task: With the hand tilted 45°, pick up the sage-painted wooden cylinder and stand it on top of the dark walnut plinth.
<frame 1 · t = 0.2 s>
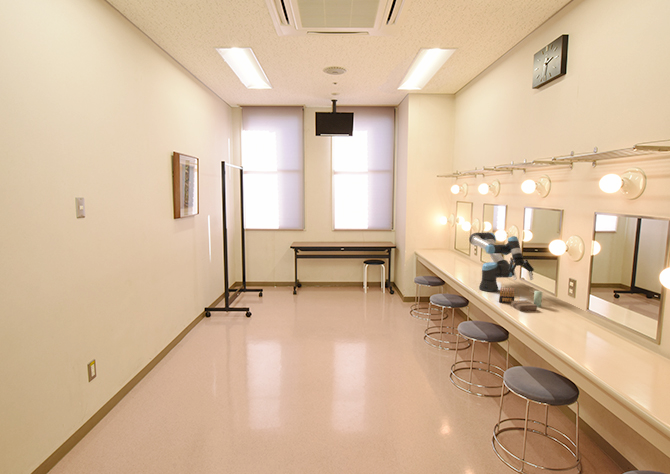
hand: (523, 279, 279), 16 cm above the table, tool tilted 35°, fingers open, 13 cm apart
ammunition clip: (506, 302, 273), on the table
walnut plinth: (523, 308, 259), on the table
sage cylinder: (537, 306, 264), on the table
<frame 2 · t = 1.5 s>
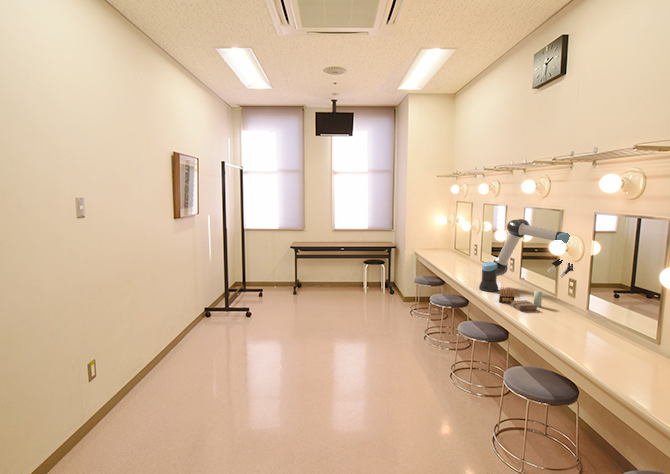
hand: (554, 274, 262), 24 cm above the table, tool tilted 45°, fingers open, 13 cm apart
nothing on the table moved.
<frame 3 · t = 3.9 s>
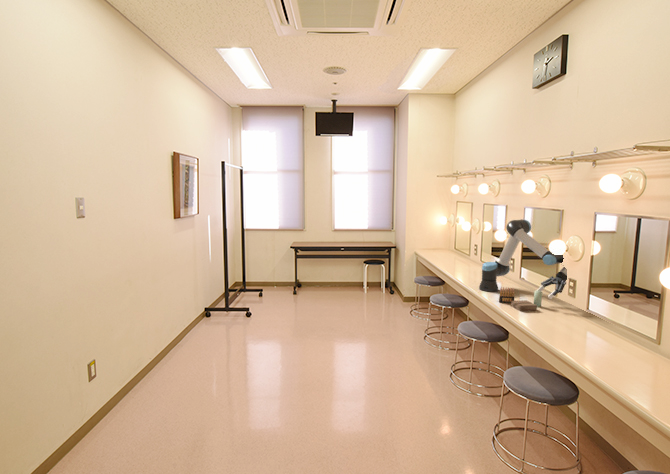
hand: (543, 295, 262), 9 cm above the table, tool tilted 45°, fingers open, 13 cm apart
nothing on the table moved.
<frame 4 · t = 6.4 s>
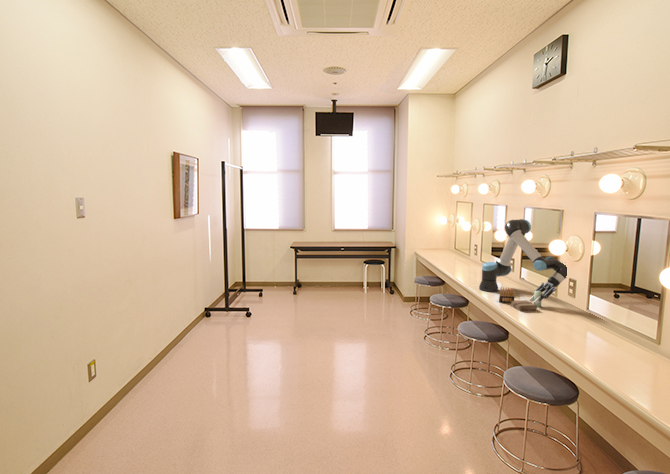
hand: (532, 302, 263), 3 cm above the table, tool tilted 45°, fingers closed on sage cylinder, 5 cm apart
sage cylinder: (537, 306, 264), on the table, touching gripper
everything else where it was.
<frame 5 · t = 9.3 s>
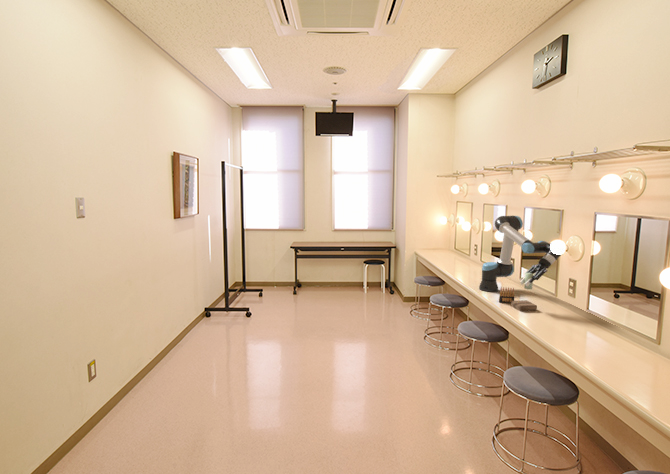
hand: (523, 284, 257), 18 cm above the table, tool tilted 45°, fingers closed on sage cylinder, 5 cm apart
sage cylinder: (528, 288, 258), point 15 cm above the table, touching gripper
everything else where it was.
when the fingers open (9 cm above the table, at t = 12.4 s): sage cylinder drops 1 cm, resting on walnut plinth.
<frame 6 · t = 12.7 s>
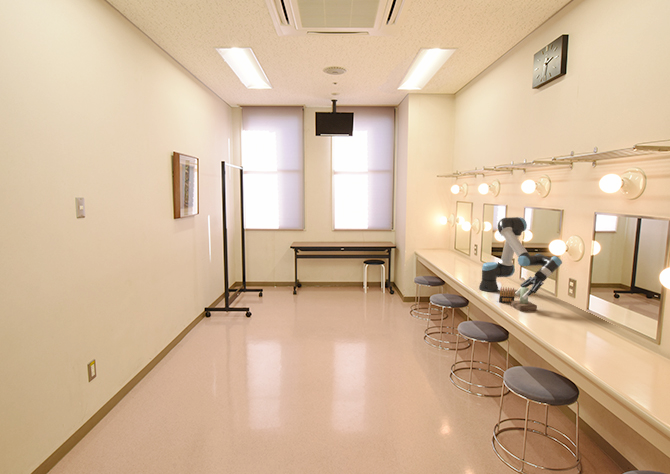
hand: (519, 296, 258), 9 cm above the table, tool tilted 45°, fingers open, 8 cm apart
sage cylinder: (523, 303, 259), point 4 cm above the table, touching walnut plinth
everything else where it was.
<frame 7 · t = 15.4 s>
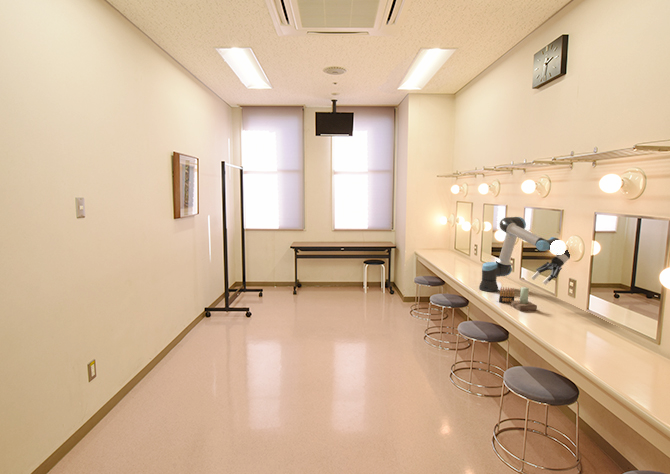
hand: (538, 281, 258), 20 cm above the table, tool tilted 45°, fingers open, 13 cm apart
nothing on the table moved.
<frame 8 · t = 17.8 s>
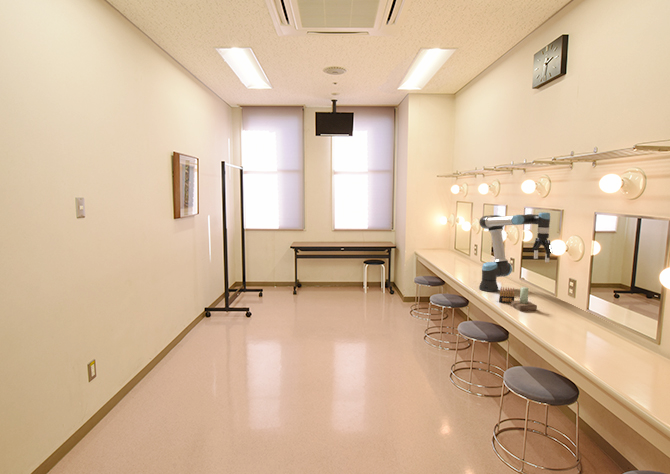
hand: (541, 260, 275), 32 cm above the table, tool pointing down, fingers open, 13 cm apart
nothing on the table moved.
at the end: sage cylinder inside the target area on the walnut plinth (0.1 cm from its centre), point 4.1 cm above the walnut plinth's base; sage cylinder tilted 1°; the gripper is holding nothing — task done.
